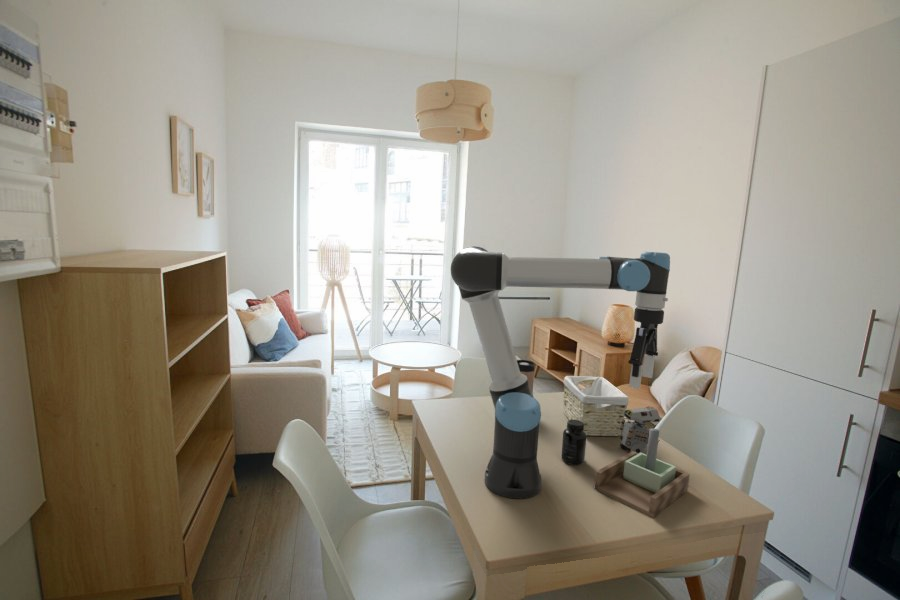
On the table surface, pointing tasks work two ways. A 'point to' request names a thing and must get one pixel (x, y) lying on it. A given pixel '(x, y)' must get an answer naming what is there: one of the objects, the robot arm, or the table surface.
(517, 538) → the table surface
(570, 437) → the supplement bottle
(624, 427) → the figurine
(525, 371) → the travel mug
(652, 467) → the green box with handle
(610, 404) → the storage basket
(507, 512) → the table surface
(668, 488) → the bay
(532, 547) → the table surface
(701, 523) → the table surface
